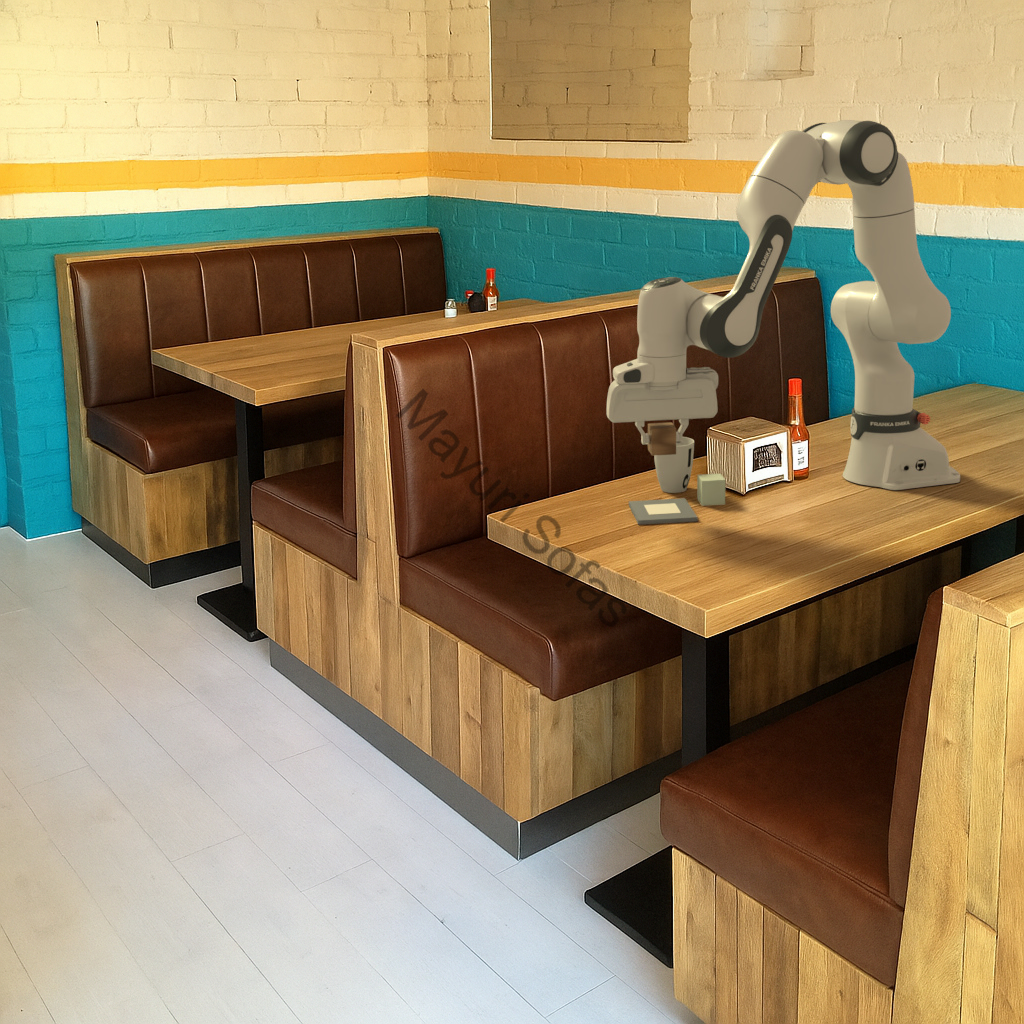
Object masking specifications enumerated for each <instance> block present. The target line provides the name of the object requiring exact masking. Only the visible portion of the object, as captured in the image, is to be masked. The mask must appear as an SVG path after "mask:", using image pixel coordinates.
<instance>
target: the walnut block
mask: <svg viewBox="0 0 1024 1024" xmlns="http://www.w3.org/2000/svg"><path fill="white" fill-rule="evenodd" d="M676 432H677V427H676V426H675V424H674V423H673V422H653V423H647V433H649V434H650V435H651V439H650V441H651V443H650V444H647V451H648V452H649V453H650V455H651V456H652V457H653V456H654V455H673V454H676Z"/></svg>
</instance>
